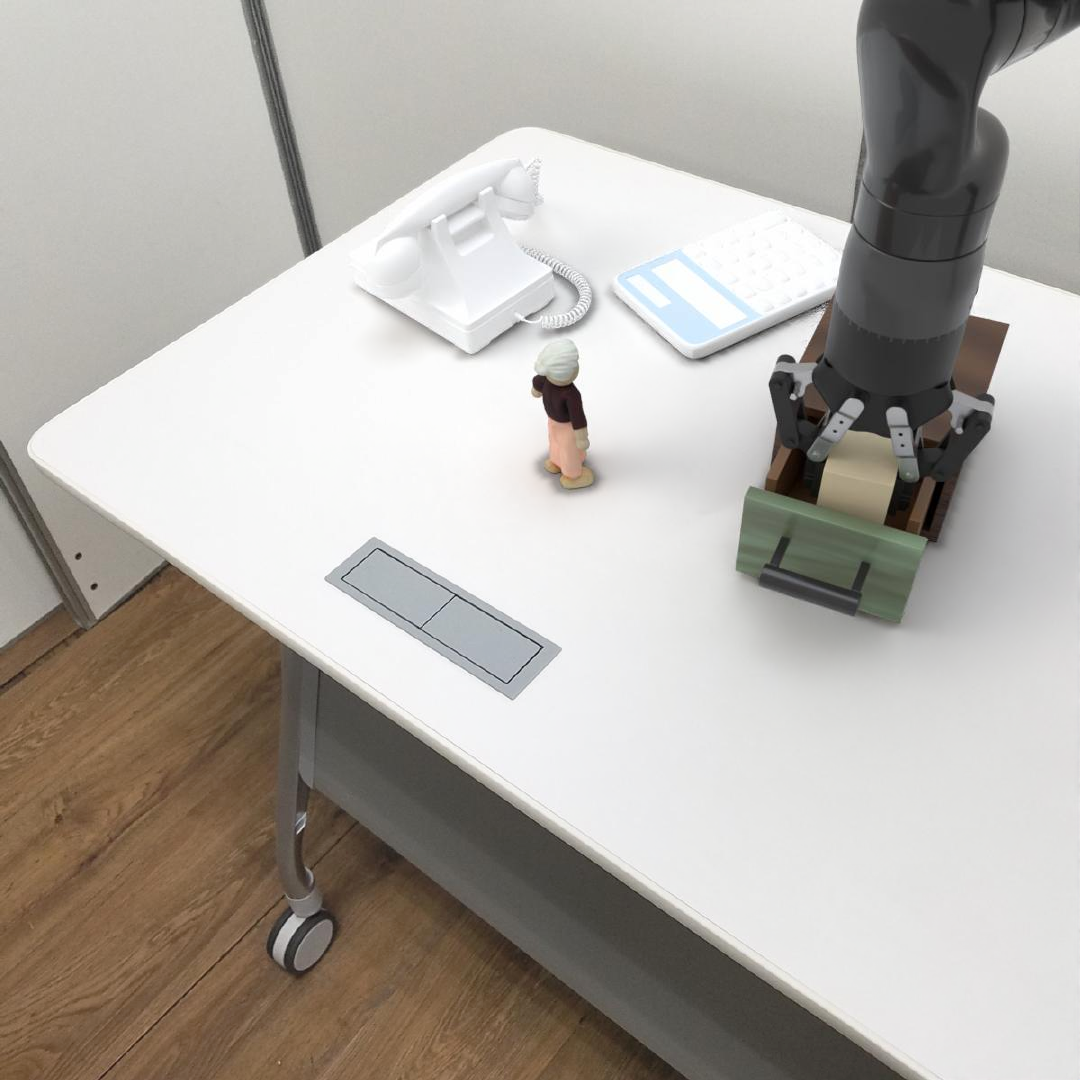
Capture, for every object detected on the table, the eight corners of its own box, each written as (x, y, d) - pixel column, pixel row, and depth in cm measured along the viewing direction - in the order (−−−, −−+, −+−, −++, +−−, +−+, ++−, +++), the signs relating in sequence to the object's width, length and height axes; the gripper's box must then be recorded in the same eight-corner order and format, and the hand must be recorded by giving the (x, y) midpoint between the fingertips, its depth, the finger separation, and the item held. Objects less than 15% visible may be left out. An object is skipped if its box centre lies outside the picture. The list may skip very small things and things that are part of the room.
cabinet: (936, 542, 81) (968, 449, 74) (766, 492, 85) (780, 399, 78) (978, 418, 89) (1010, 323, 82) (821, 377, 94) (838, 284, 86)
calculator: (866, 286, 102) (869, 268, 100) (690, 365, 96) (691, 348, 94) (774, 220, 109) (776, 203, 108) (606, 290, 103) (606, 273, 102)
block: (892, 486, 76) (905, 439, 73) (881, 532, 73) (894, 486, 70) (827, 472, 77) (837, 425, 74) (814, 517, 75) (823, 470, 71)
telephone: (505, 193, 115) (495, 78, 106) (656, 268, 105) (660, 148, 96) (318, 305, 104) (289, 188, 95) (468, 401, 94) (451, 280, 85)
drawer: (883, 671, 73) (906, 599, 67) (714, 614, 77) (722, 541, 71) (944, 492, 83) (969, 416, 77) (792, 450, 87) (804, 374, 81)
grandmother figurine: (616, 479, 87) (615, 354, 78) (581, 504, 86) (576, 380, 76) (551, 432, 91) (543, 308, 82) (516, 455, 90) (504, 331, 80)
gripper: (763, 309, 62) (738, 513, 75) (1029, 358, 58) (954, 564, 71) (793, 236, 66) (764, 440, 79) (1042, 277, 63) (969, 484, 75)
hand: (854, 498), depth 75 cm, fingers closed on block, 4 cm apart
